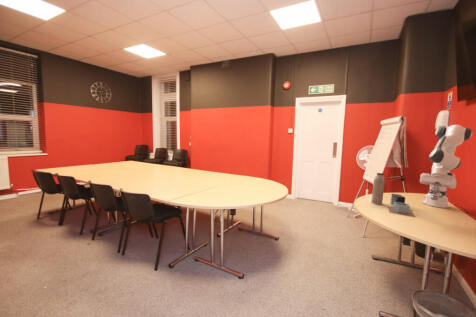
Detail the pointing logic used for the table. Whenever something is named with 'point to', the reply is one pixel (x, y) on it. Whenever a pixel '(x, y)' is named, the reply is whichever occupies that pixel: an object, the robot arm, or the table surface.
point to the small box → (397, 199)
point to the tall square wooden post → (435, 196)
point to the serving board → (401, 213)
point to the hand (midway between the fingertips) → (436, 189)
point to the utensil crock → (401, 207)
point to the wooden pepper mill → (378, 189)
